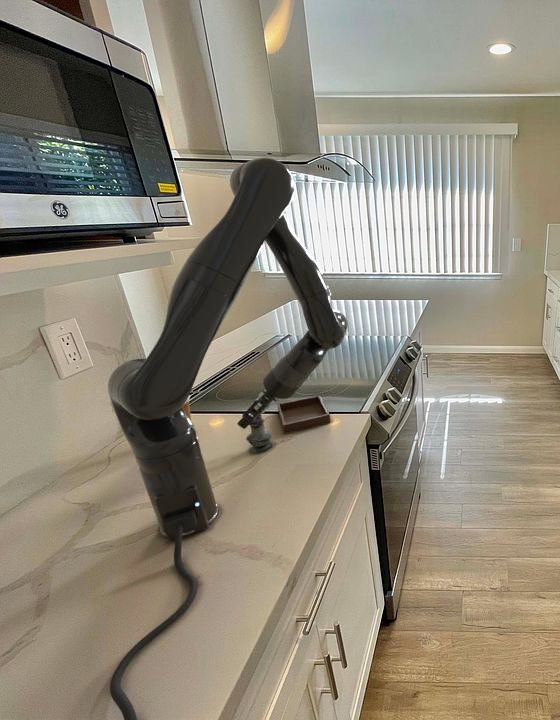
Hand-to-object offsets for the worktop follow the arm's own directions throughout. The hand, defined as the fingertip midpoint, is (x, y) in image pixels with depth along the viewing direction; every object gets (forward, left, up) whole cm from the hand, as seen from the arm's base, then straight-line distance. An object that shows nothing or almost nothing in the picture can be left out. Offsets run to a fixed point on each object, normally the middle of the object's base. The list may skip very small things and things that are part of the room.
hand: (249, 418), depth 99 cm
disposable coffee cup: (+17, +18, -9) cm, 26 cm away
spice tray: (+11, -13, -8) cm, 19 cm away
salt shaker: (-1, -1, -9) cm, 9 cm away
